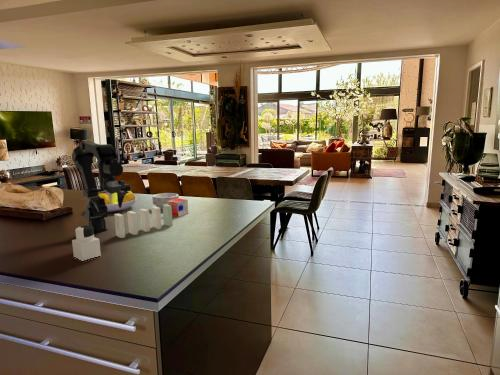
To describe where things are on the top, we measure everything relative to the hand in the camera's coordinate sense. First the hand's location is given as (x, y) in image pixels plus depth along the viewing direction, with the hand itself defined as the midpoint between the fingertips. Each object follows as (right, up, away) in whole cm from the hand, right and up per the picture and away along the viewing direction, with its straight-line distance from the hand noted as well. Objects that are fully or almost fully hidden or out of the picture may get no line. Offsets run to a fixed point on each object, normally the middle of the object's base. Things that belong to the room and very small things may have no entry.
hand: (109, 209), depth 148 cm
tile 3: (+12, -11, +13) cm, 20 cm away
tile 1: (+3, -12, +5) cm, 14 cm away
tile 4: (+16, -10, +17) cm, 25 cm away
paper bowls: (+11, -3, +56) cm, 57 cm away
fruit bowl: (-20, -3, +56) cm, 60 cm away
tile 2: (+7, -11, +9) cm, 16 cm away
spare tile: (+20, -9, +21) cm, 31 cm away
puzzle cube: (+21, -5, +41) cm, 47 cm away
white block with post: (-1, -17, -19) cm, 25 cm away
